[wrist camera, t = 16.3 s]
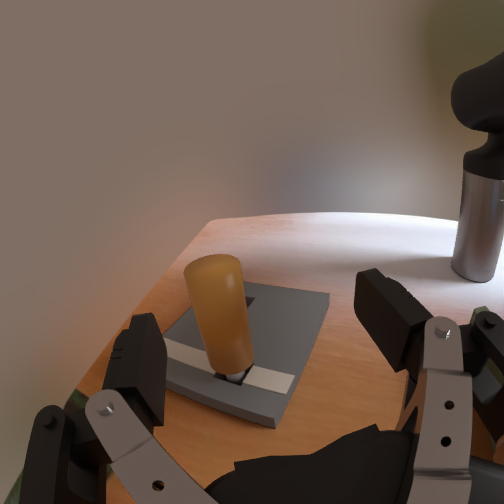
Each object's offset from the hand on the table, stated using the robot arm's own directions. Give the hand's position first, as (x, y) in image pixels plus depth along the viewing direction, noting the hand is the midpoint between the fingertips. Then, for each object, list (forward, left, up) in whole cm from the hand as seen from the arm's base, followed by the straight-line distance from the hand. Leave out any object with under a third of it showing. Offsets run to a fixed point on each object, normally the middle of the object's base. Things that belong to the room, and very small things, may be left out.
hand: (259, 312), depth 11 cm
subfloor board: (-14, -11, -17) cm, 25 cm away
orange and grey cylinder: (-8, -8, -17) cm, 21 cm away
